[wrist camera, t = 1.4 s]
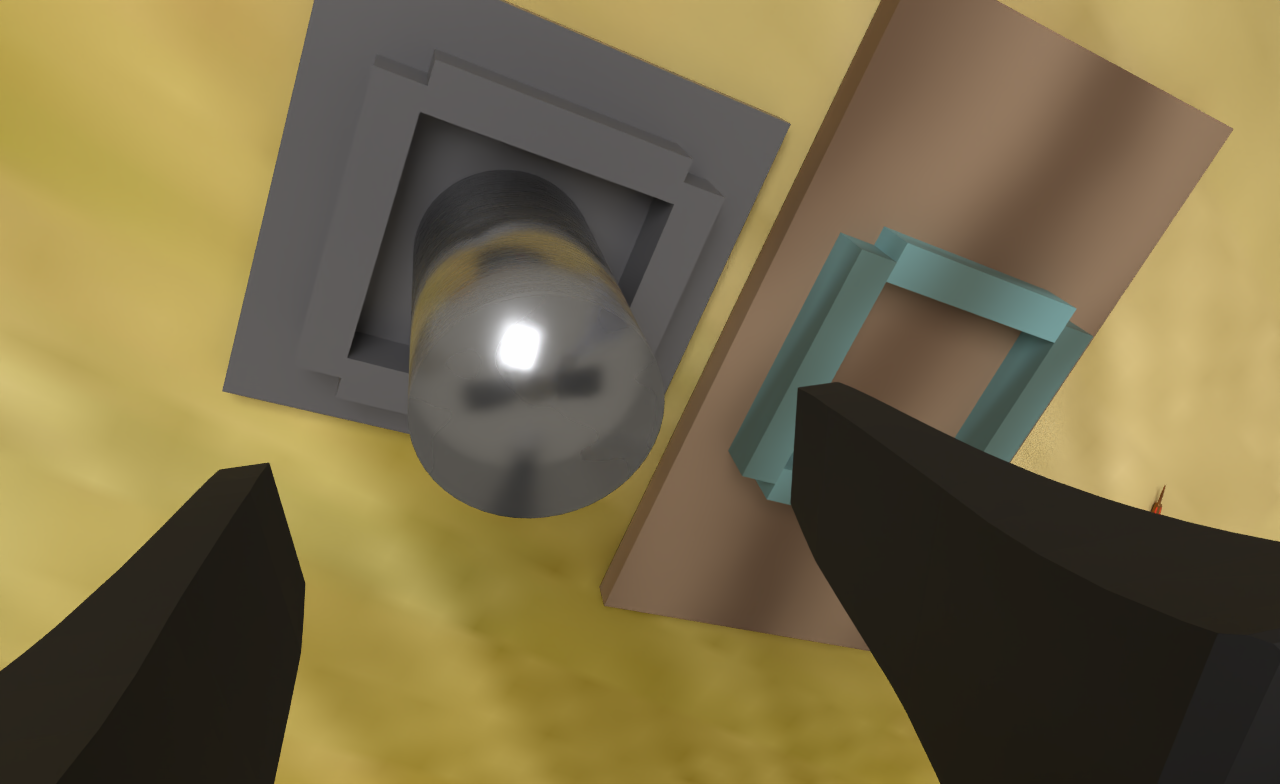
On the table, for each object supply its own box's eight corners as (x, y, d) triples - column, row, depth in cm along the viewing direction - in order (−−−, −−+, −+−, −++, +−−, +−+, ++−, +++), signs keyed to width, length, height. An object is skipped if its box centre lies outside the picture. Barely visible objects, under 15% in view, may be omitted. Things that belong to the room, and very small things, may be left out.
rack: (1208, 122, 22) (1273, 140, 21) (871, 635, 29) (899, 680, 28) (902, -43, 19) (949, -38, 17) (599, 586, 26) (612, 635, 24)
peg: (619, 204, 19) (704, 338, 14) (557, 357, 21) (610, 537, 15) (443, 142, 18) (453, 261, 12) (391, 311, 20) (376, 490, 14)
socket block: (781, 118, 20) (814, 138, 18) (619, 470, 24) (634, 514, 22) (333, -72, 16) (323, -70, 15) (227, 379, 20) (208, 422, 18)
